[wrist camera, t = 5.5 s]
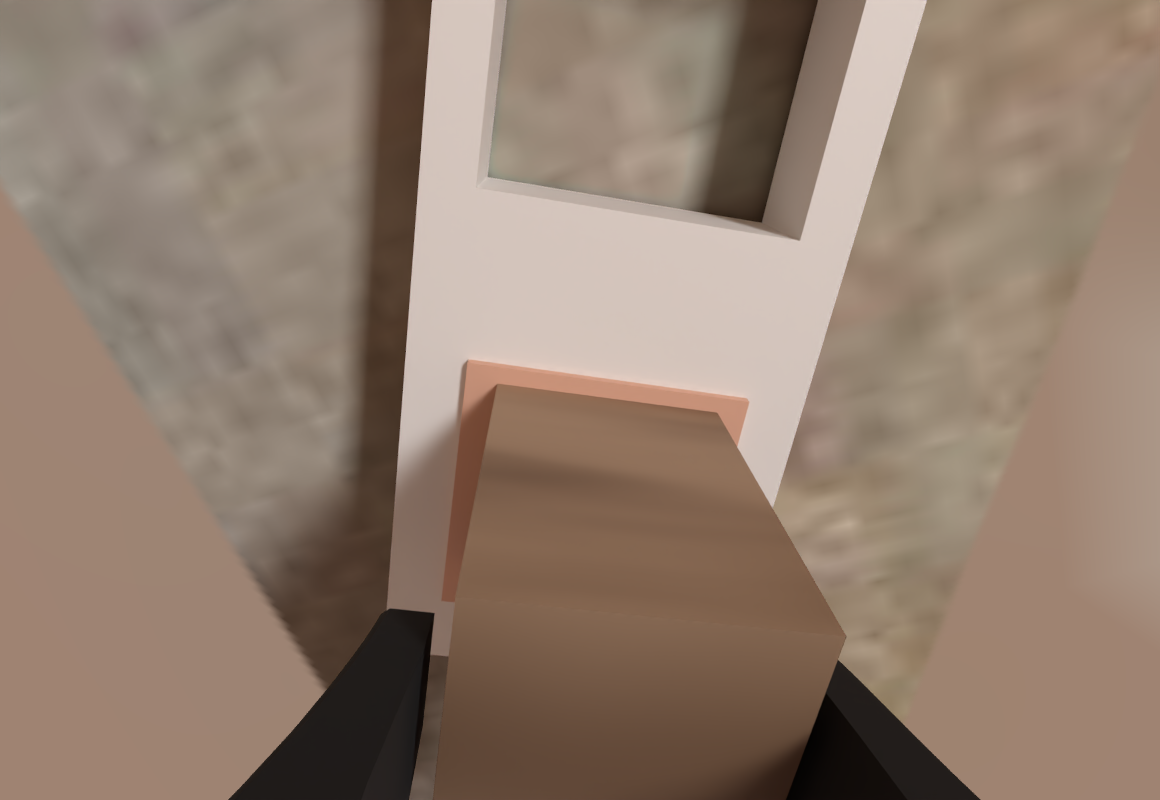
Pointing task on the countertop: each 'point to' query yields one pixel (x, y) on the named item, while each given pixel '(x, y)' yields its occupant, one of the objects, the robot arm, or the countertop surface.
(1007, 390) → the countertop surface
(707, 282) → the socket block
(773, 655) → the plug
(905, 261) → the countertop surface
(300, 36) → the countertop surface
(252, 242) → the countertop surface
